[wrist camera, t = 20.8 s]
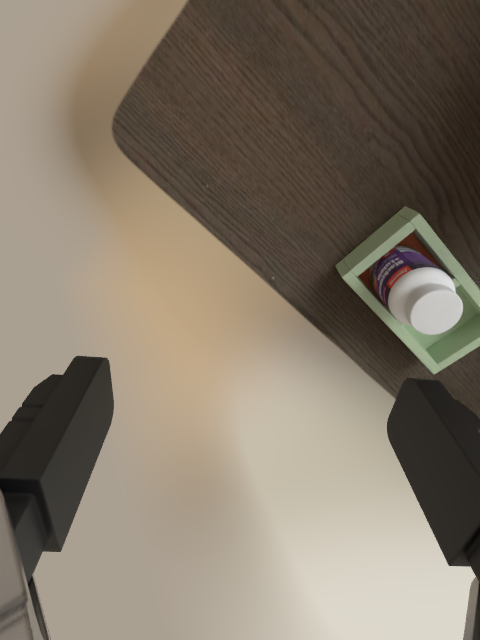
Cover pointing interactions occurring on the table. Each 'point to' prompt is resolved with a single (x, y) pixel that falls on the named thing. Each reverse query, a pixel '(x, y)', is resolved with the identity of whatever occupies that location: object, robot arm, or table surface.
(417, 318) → the pill bottle
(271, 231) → the table surface
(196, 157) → the table surface
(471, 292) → the storage box
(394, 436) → the robot arm
